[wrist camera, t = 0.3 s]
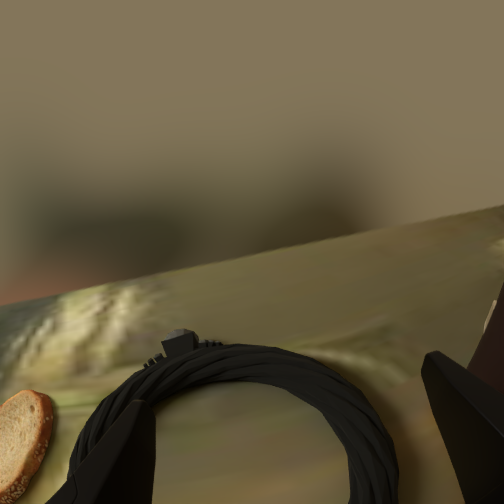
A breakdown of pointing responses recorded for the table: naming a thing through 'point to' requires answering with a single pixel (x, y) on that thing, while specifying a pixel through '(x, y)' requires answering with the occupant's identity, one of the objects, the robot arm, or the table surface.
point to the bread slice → (22, 441)
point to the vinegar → (491, 349)
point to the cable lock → (268, 372)
